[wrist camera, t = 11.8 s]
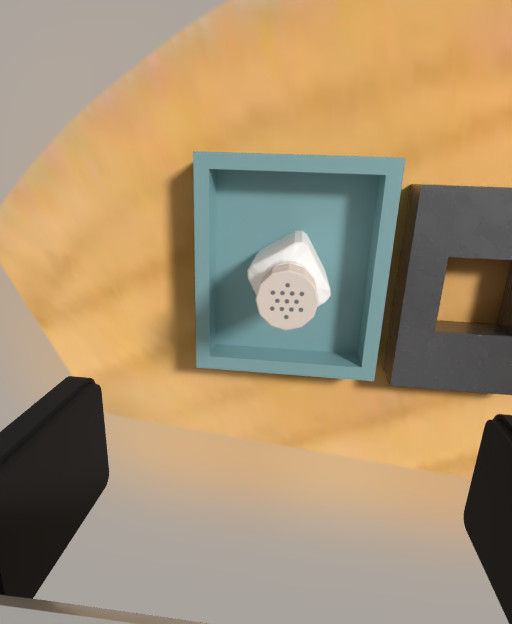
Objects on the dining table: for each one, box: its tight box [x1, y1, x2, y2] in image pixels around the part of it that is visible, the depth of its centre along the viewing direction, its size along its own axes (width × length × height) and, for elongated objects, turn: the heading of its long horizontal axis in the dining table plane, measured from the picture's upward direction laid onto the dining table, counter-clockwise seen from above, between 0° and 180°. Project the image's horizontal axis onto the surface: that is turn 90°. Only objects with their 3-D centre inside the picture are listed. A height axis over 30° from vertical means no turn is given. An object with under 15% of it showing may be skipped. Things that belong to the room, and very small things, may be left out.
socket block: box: [384, 184, 512, 395], centre depth 28 cm, size 10×14×2 cm
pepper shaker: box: [247, 230, 330, 330], centre depth 25 cm, size 4×4×10 cm
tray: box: [193, 151, 405, 381], centre depth 29 cm, size 13×15×3 cm
